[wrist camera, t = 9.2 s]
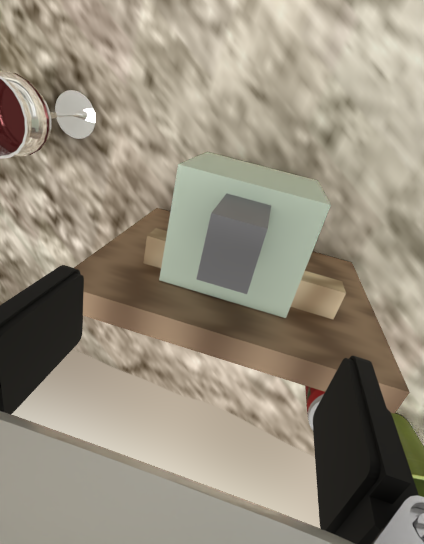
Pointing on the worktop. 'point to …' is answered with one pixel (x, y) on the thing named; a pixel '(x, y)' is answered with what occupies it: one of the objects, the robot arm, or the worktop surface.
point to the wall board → (241, 314)
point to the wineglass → (37, 116)
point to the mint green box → (242, 231)
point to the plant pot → (411, 450)
